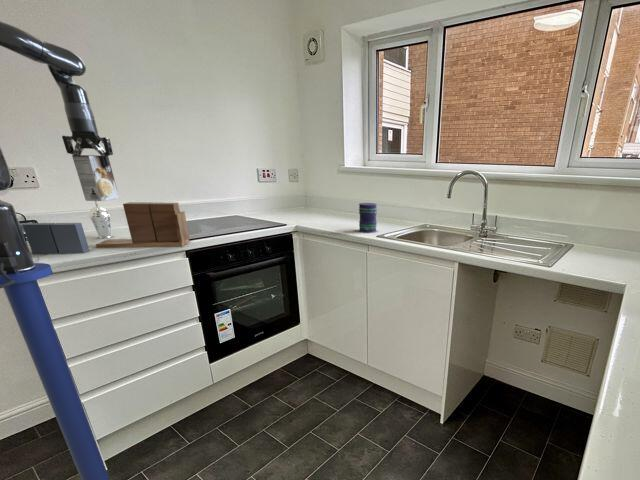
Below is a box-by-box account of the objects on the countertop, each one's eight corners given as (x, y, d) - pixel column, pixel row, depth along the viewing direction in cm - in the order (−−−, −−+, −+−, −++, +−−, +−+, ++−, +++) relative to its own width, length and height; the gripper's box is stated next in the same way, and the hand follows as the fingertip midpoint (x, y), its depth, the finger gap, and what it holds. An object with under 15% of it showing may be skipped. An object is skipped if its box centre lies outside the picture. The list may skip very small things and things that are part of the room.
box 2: (180, 241, 153) (173, 204, 147) (157, 242, 151) (149, 203, 145) (185, 238, 158) (178, 202, 152) (162, 239, 156) (154, 202, 150)
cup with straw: (121, 236, 165) (109, 192, 158) (99, 240, 157) (86, 193, 150) (109, 234, 168) (98, 191, 161) (88, 238, 160) (74, 192, 153)
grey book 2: (83, 252, 136) (75, 224, 132) (59, 253, 134) (49, 224, 130) (89, 250, 140) (81, 222, 136) (65, 250, 138) (56, 222, 134)
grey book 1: (57, 253, 134) (48, 224, 130) (32, 253, 132) (22, 224, 128) (64, 251, 138) (55, 222, 134) (39, 251, 136) (29, 223, 132)
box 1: (156, 242, 151) (147, 203, 145) (132, 242, 148) (122, 203, 143) (161, 239, 156) (153, 202, 150) (138, 239, 154) (129, 202, 148)
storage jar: (356, 231, 197) (355, 204, 191) (364, 228, 205) (364, 202, 200) (371, 233, 193) (371, 205, 188) (379, 230, 202) (379, 203, 196)
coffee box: (104, 198, 140) (92, 155, 134) (120, 199, 140) (109, 155, 134) (84, 200, 131) (71, 154, 125) (101, 201, 131) (88, 155, 125)
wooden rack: (183, 246, 152) (176, 214, 147) (96, 247, 144) (86, 214, 139) (190, 241, 161) (184, 211, 156) (109, 242, 153) (100, 211, 148)
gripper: (49, 115, 120) (65, 166, 126) (98, 118, 123) (111, 167, 129) (63, 117, 127) (77, 166, 133) (109, 120, 130) (121, 167, 136)
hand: (94, 167), depth 131 cm, fingers closed on coffee box, 7 cm apart
